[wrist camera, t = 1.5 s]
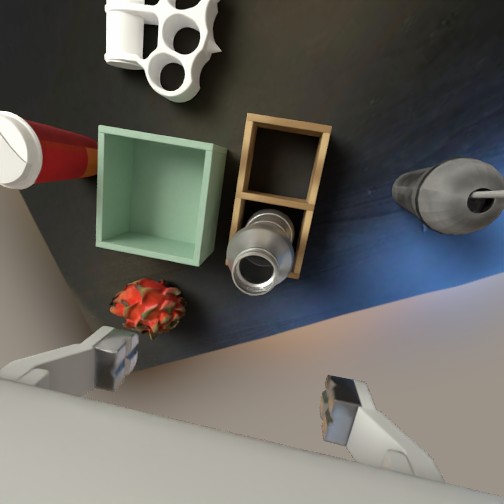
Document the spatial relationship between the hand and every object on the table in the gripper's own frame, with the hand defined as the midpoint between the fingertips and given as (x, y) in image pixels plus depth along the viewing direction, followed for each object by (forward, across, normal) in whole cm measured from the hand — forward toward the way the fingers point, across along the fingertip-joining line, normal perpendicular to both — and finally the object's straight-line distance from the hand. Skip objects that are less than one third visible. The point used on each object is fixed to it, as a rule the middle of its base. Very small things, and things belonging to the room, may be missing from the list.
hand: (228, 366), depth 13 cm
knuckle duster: (+32, +17, -24) cm, 43 cm away
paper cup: (+32, +28, -6) cm, 43 cm away
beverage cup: (+32, -17, -9) cm, 37 cm away
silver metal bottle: (+32, 0, 0) cm, 32 cm away
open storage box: (+32, +15, -3) cm, 35 cm away
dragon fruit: (+32, +16, +14) cm, 38 cm away
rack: (+32, 0, -5) cm, 32 cm away
